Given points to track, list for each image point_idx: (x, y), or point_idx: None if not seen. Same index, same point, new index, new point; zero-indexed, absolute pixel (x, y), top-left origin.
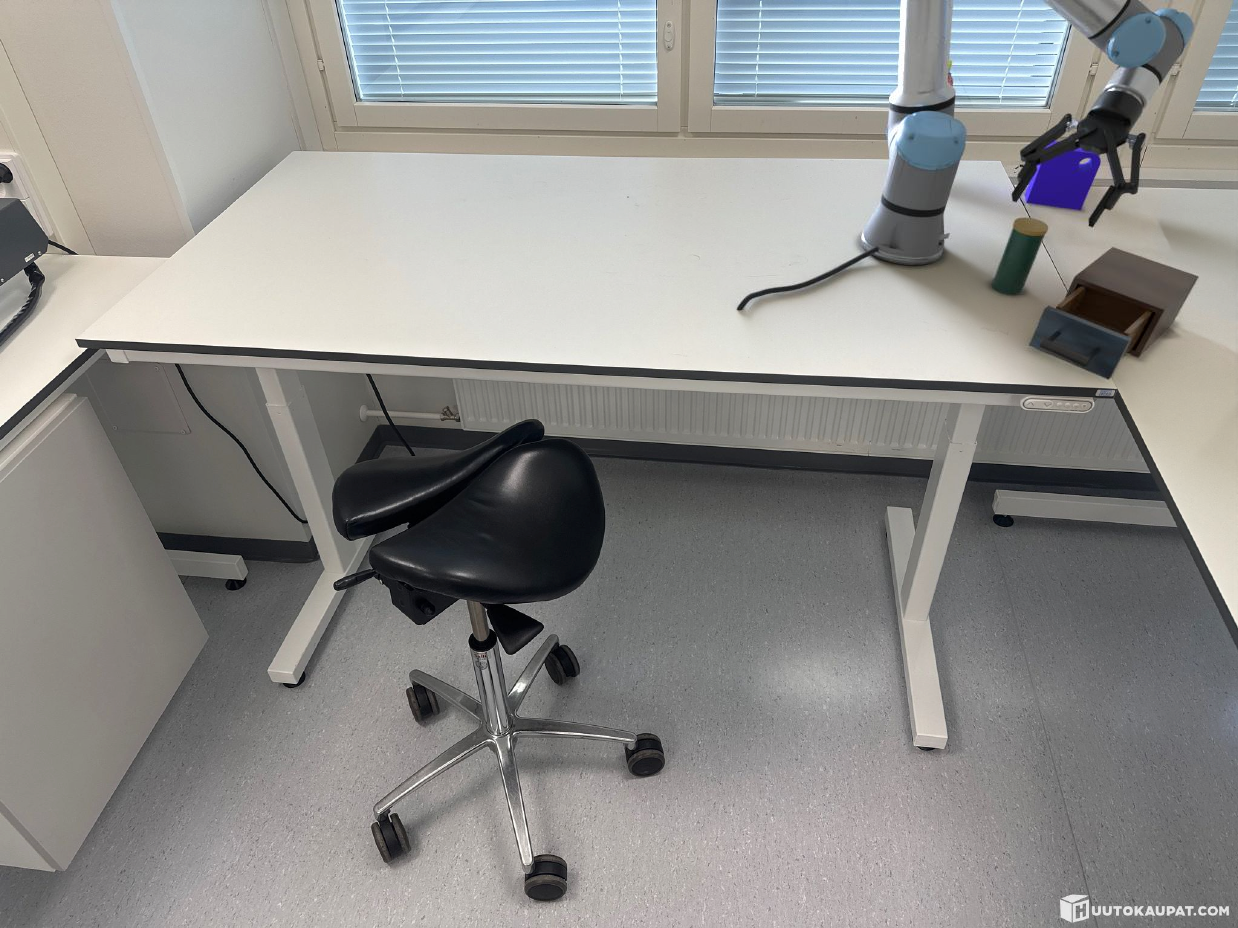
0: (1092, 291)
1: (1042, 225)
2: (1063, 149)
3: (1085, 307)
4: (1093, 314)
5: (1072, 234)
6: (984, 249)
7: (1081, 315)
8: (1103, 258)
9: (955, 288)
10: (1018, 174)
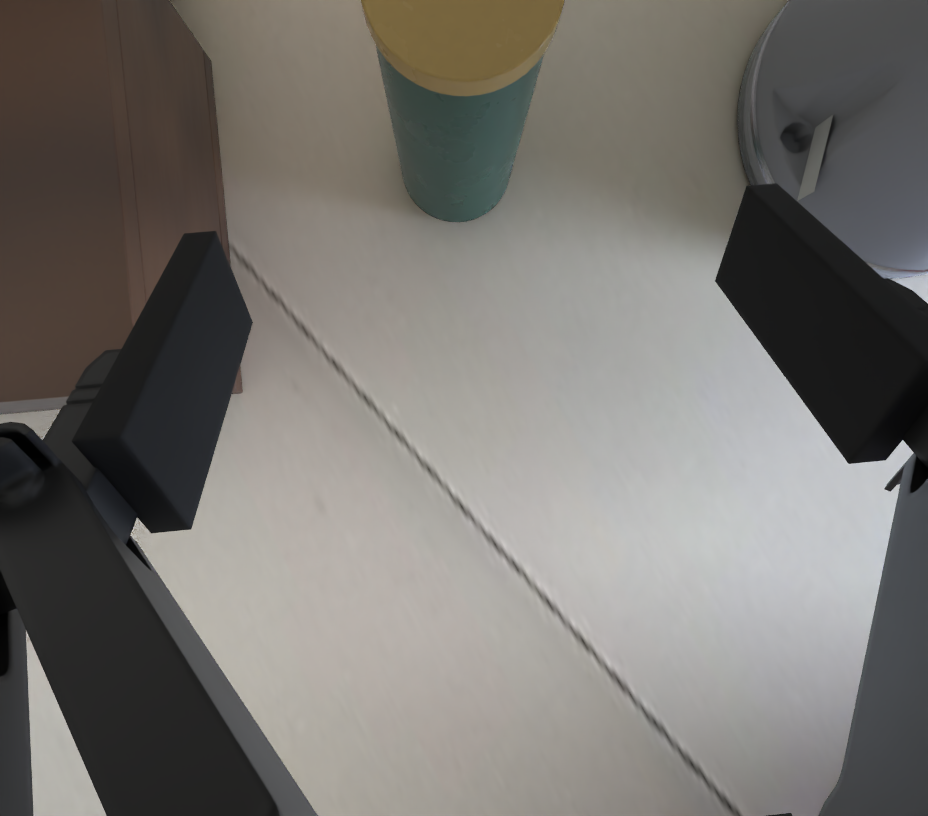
0: None
1: (410, 20)
2: (910, 670)
3: None
4: None
5: (534, 799)
6: (678, 382)
7: None
8: (101, 214)
9: (569, 8)
10: (910, 294)
